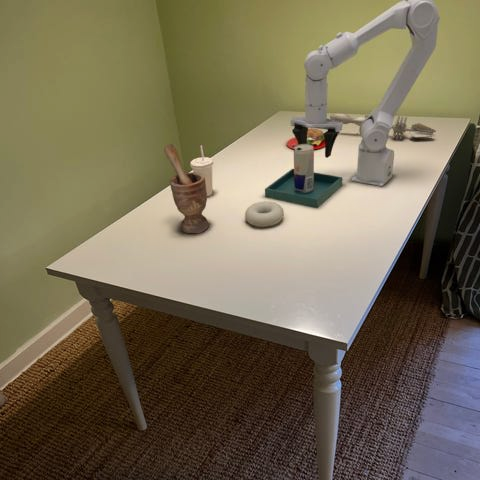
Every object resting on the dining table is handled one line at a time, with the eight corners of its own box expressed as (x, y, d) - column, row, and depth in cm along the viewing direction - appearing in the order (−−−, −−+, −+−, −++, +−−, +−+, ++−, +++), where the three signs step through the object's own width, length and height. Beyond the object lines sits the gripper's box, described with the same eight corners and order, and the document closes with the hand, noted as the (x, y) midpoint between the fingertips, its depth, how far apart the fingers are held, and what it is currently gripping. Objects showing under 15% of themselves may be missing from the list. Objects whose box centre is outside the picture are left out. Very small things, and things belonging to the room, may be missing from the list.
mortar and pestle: (163, 228, 126) (146, 153, 113) (183, 214, 131) (170, 140, 118) (198, 237, 120) (185, 159, 107) (217, 222, 125) (207, 146, 113)
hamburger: (294, 135, 171) (294, 117, 167) (333, 137, 165) (333, 119, 162) (280, 149, 161) (279, 131, 157) (320, 152, 156) (321, 134, 152)
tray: (342, 185, 136) (342, 177, 134) (316, 208, 127) (317, 199, 125) (292, 176, 144) (292, 168, 142) (265, 196, 135) (264, 188, 133)
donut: (238, 218, 126) (257, 233, 119) (237, 206, 124) (256, 220, 117) (271, 207, 129) (291, 221, 122) (270, 195, 127) (291, 208, 120)
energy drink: (293, 187, 137) (292, 145, 129) (311, 184, 137) (311, 142, 129) (296, 195, 133) (295, 152, 125) (315, 192, 133) (315, 149, 125)
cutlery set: (335, 105, 167) (330, 103, 160) (439, 121, 156) (438, 119, 149) (329, 130, 170) (324, 128, 163) (431, 146, 159) (431, 145, 152)
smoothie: (214, 198, 136) (207, 150, 128) (192, 198, 138) (184, 150, 129) (219, 189, 141) (213, 141, 132) (198, 189, 143) (191, 141, 134)
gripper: (284, 105, 127) (286, 155, 136) (334, 110, 120) (332, 163, 129) (297, 97, 131) (298, 147, 140) (346, 102, 124) (344, 154, 133)
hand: (315, 154), depth 135 cm, fingers open, 7 cm apart
